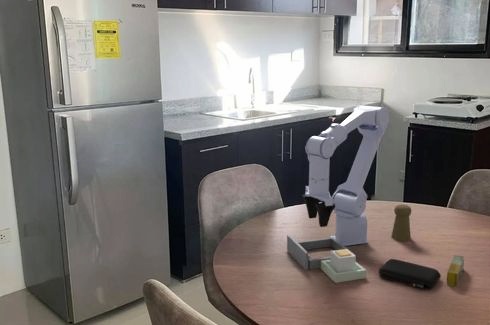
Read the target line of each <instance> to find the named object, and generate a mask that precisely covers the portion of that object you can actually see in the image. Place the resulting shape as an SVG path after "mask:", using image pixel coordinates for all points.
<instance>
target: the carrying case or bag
mask: <svg viewBox="0 0 490 325" xmlns="http://www.w3.org/2000/svg"><path fill="white" fill-rule="evenodd" d="M377 273H378V274H379V276H380V277H381V278H383V279H386V280H389V281H394V282H398V283H401V284H404V285H408V286H412V287H413V288H418V289H419V288H420V289H423V290H430V289H432V288H434V287H435V285H436V284H437V283H438V281H439V280H440V279H441V277H442V276H441V275H442V274H441V273H440V272H439V270H438V269H435V268H433V267H429V266H425V265H421V264H416V263H414V262H409V261H404V260H400V259H396V258H390V259H388V260H387V261H385V263H384V264H382V266H380V268H378V270H377Z"/></svg>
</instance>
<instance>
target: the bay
mask: <svg viewBox="0 0 490 325" xmlns="http://www.w3.org/2000/svg"><path fill="white" fill-rule="evenodd" d="M320 270H322V272H324V273H325V275H327V276H328V277H329V278H330V279H331V280H332V281H333V282H334V283H336V284H339V283H343V282H350V281H356V280H362V279H366V278H367V269H365V268H364V266H362V265H361V264H359V263H358V262H357V261H356V264H355V270H354V271H348V272H341V273H336V272H335V271H334V270H333V269H332V268H331V267H330V260H324V261H321V268H320Z"/></svg>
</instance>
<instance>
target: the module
mask: <svg viewBox="0 0 490 325" xmlns="http://www.w3.org/2000/svg"><path fill="white" fill-rule="evenodd" d="M348 249H349V248H348ZM348 249H343V250H335V249H334V250H330V251H329V252H330V253H329V254H330V256H329V257H330V267H331V268H332V269H333V270H334V271H335V272H336V273H341V272H348V271H354V270H355V264H356V262H357V256H356V254H355V253H354V252H353V253H354V254H355V255H354V254H353V253H351V252H352V251H351V250H350V249H349V250H350V251H351V252H350V251H349V250H348Z"/></svg>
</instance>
